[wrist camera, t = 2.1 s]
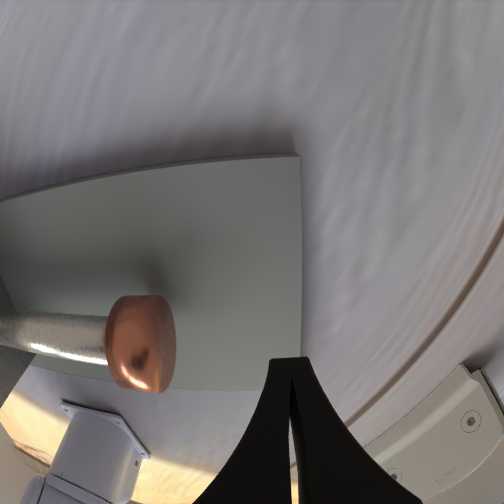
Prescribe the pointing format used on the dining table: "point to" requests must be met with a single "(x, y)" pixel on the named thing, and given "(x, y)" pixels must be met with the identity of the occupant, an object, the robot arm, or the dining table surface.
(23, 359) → the bearing block
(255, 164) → the base plate
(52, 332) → the shaft
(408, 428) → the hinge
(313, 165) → the dining table surface
